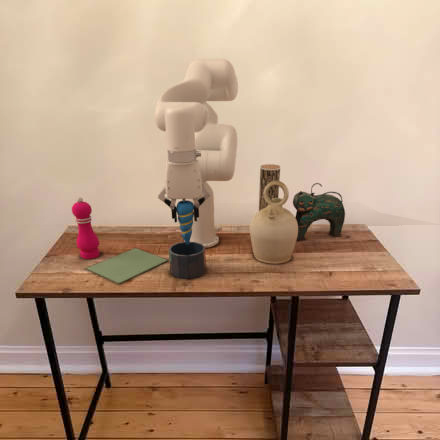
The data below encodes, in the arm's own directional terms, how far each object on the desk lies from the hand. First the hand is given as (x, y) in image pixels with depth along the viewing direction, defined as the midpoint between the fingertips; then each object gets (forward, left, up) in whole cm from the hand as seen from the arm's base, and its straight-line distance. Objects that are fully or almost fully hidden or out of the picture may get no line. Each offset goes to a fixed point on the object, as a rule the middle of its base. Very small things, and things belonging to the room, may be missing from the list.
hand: (185, 219), depth 118 cm
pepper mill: (+12, -34, -17) cm, 40 cm away
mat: (+9, -18, -16) cm, 26 cm away
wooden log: (-40, +3, -17) cm, 43 cm away
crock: (0, 0, -16) cm, 16 cm away
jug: (-25, +15, -17) cm, 33 cm away
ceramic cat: (-49, +18, -17) cm, 55 cm away
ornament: (0, 0, -8) cm, 8 cm away
